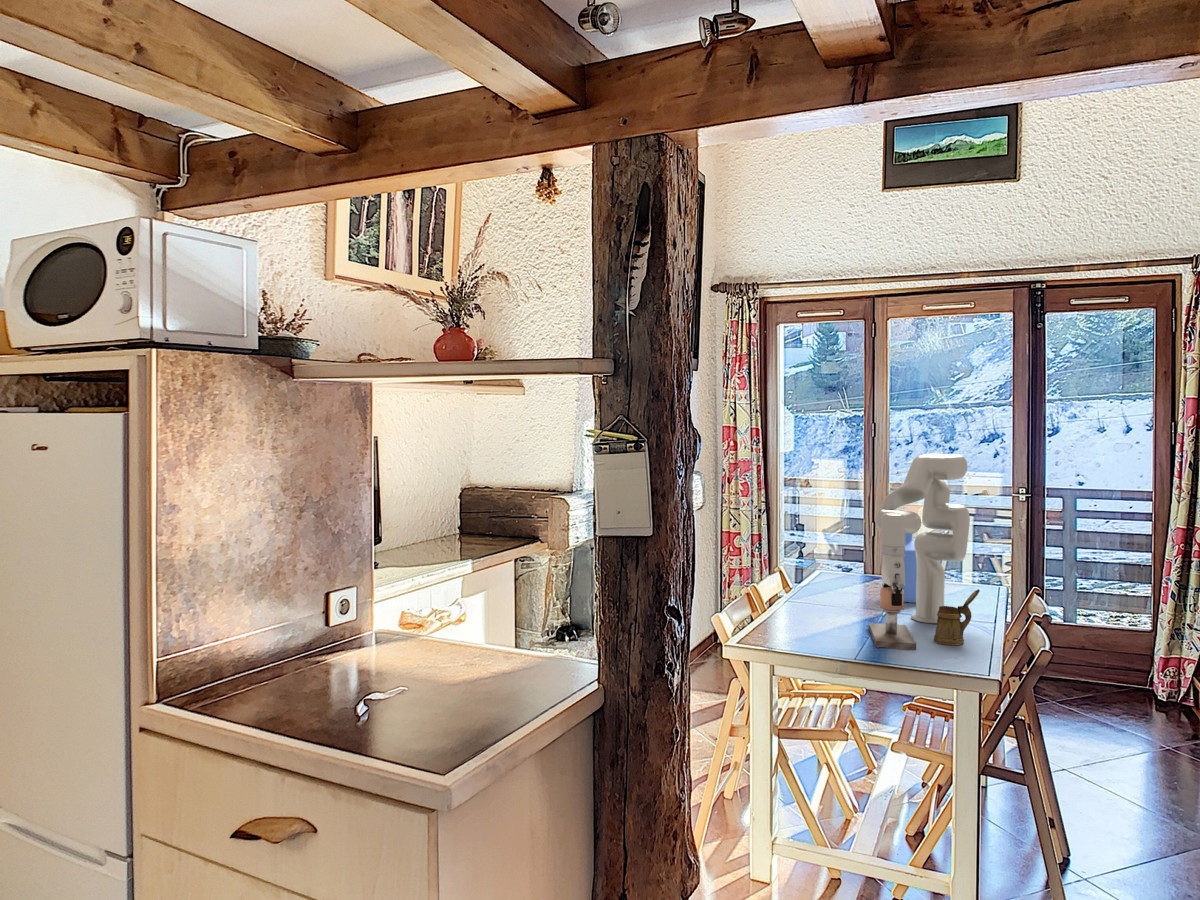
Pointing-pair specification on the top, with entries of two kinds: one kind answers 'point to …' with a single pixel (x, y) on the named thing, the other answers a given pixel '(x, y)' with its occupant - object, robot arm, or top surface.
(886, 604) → the cap
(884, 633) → the base board
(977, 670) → the top surface
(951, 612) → the wooden mug
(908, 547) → the water jug
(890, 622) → the threaded post
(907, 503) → the robot arm
